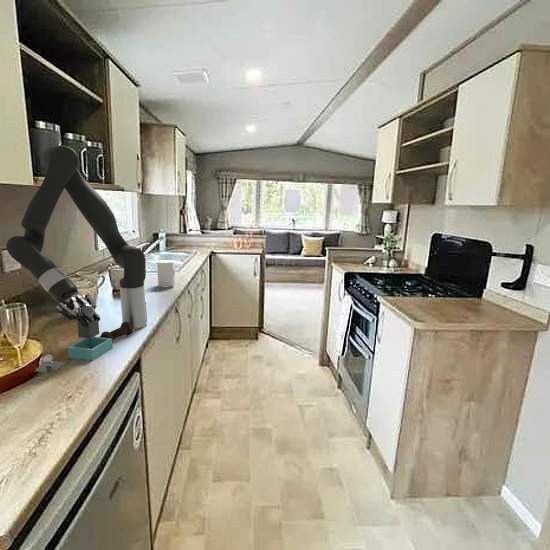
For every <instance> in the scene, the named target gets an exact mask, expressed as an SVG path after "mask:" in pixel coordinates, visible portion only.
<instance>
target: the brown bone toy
mask: <svg viewBox="0 0 550 550" xmlns="http://www.w3.org/2000/svg"><path fill="white" fill-rule="evenodd" d="M133 333H134V330H133V326H132V325H131V324H130V323H129V322H121V323H120V327H118V328H116V329H114V330H112V331H103V332H102V333H101V334H100V336H99V337H101V338H111V339H112V342H113V341H114V340H115V339H118V338H120V337H122V336H128V335H130V334H132V335H133ZM125 334H126V335H125ZM130 336H131V335H130Z"/></svg>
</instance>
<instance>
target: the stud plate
mask: <svg viewBox="0 0 550 550" xmlns="http://www.w3.org/2000/svg"><path fill="white" fill-rule="evenodd" d="M66 364H68V362H63V361H56V360H55V361H54V357H53V356H52V355H51V354H45V356H44V357H43V358H42V363H41V364H39V365H40V366H39V365H38V366H39V367H38V368H37V369H36V370H35V371H34V372H38V373H45V374H51V373H52V372H54V371H56V370H58V369H59V368H61V367H63V366H65V365H66Z"/></svg>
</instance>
